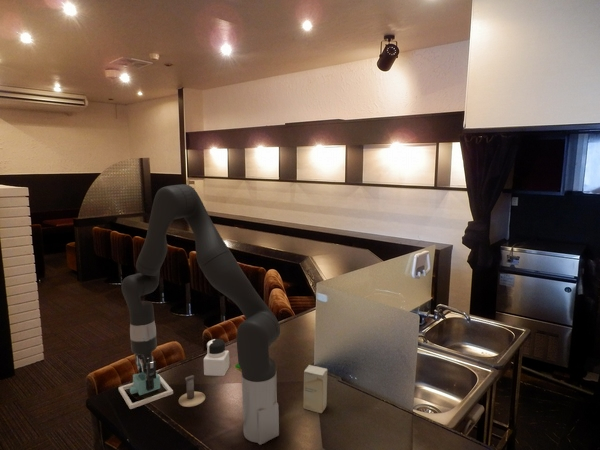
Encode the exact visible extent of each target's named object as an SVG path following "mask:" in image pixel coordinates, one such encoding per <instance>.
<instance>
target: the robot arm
mask: <svg viewBox="0 0 600 450" xmlns="http://www.w3.org/2000/svg"><path fill="white" fill-rule="evenodd" d="M182 218H183V219H184V220H185V221H186V223H187V224H188V226H189V227H190V229H191V231H192V233H193V237H194V242H195V256H196V257H195V258H196V262H197V264H198V266H199V268H200V270H201V272H202V273H203V275H204V277H205V278H206V279H207V281H208V282H209V283H210V285H211V286H212V287H213V288H214V289H215V290H216V291H218V292H219V293H221V294H222V295H224V296H225V297H227V298H228V299H229V300H231V301H232V302H233V303H234V304H235V305H236V306H237V308H239V310H240V311H241V313H242V314H243V317H244V318H245V320H244V321H242V322H241V323H240V324H239V325H238V327H237V330H236V351H237V364H239V366H240V368H241V370H242V372H241V387H242V388H241V392H242V393H241V395H242V397H241V398H242V423H243V425H242V428H243V436H244V438H245V439H246V440H247V441H249V442H252V443H257V444H258V445H259V446H262V444H266V443H267V442H268V441H270V440H272V439H275V438H276V437H279V436H280V426H279V424H280V420H279V419H280V418H279V416H280V415H279V414H280V413H279V409H280V408H279V402H278V400H277V394H278V393H277V375H276V373H277V364H276V362H275V360H274V359H273V358H272V357H270V354H269V353H270V351H269V349H270V347H271V345H273V344H274V343H275V342H276V341H277V339H278V338H279V336H280V333H281V326H280V323H279V321H278V319H277V317H276V316H275V314H274V313H273V311H272V310H271V309H270V307H269V306H268V305H267V303H265V301H264V300H263V298H261V296H260V295H259V293H258V292H257V291H256V289H255V287H254V286H253V285H252V283H251V281H250V280H249V279H248V277H247V275H246V274H245V273H244V271H243V269H242V268H241V266H240V265H239V262H238V261H237V260H236V258H235V256H234V255H233V253H232V251H231V250H230V248H229V247H228V246H227V244H226V242H225V241H224V239H223V238H222V236H221V234H220V233H219V231H218V229H217V228H216V226H215V224H214V223H213V221H212V219H211V217H210V214H209V213H208V211H207V209H206V207H205V205H204V203H203V201H202V198H201V197H200V195H199V193H198V192H197V190H196V188H195V189H194V187H193V186H191V185H190V184H174V185H172V184H171V185H167V186H163V187H161V188H159V189H158V190H157V192H156V194H155V195H154V199H153V203H152V206H151V211H150V217H149V220H148V226H147V231H146V235H145V236H146V237H145V240H144V243H143V245H142V248H141V250H140V252H139V255H138V257H137V260H136V263H135V268H136V270H137V272H138V273H134V274H130V275H128V276H126V277H124V278H123V280H122V282H121V293H122V295H123V297H124V301H125V302H126V306H127V308H128V312H129V322H130V324H129V336H130V337H129V338H130V350H131V353H132V354H134V358H135V359H134V360H135V365H136V367H137V371H138V373H141V372H143V373H144V374H145V379H146V390H147V391H149V390H152V389H154V379H155V378H156V373H157V361H156V360H154V355H153V354H152V352H154V351H155V350H156V349H157V347H158V344H157V343H158V341H157V327H156V323H155V322H156V321H155V310H154V305H153V302H151V301H147V300H141V297H143V296H145V295H149V294H152V293H153V292H154V291H156V289H157V288H158V286H159V284H160V283H159V282H160V274H161V273H160V272H161V267H162V265H163V263H164V261H165V260H166V259H165V258H166V257H167V253H168V241H167V232H168V230H169V228H170V226H171V225H172V223H173V221H175V220H178V219H182ZM150 374H151V375H150Z"/></svg>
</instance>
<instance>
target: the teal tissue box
mask: <svg viewBox="0 0 600 450" xmlns="http://www.w3.org/2000/svg"><path fill="white" fill-rule="evenodd" d="M150 375H151V374H150ZM159 375H160V374H159ZM159 375H158V373H157V372H156V378H155V379H154V389H152V390H149V391H147V390H146V379H145V374H144V373H143V372H141V373H139V372H138V373H134V374H132V383H133V385H134V387H132V388H129V393H130V394H131V395H133V394H138V395H139V396H142V395H145V394H148V393H151V392H154V391H156V390H159V389H161V383H160V376H161V375H160V376H159Z"/></svg>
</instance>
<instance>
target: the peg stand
mask: <svg viewBox="0 0 600 450" xmlns="http://www.w3.org/2000/svg"><path fill="white" fill-rule="evenodd" d="M194 379H195V375H194V374H192V375H189V376H186V377H185V378H184V380H185V383H186V393H184V394H182V395H181V396H180V397H179V399H178V404H179V405H180V406H182V407H187V408H191V407H195V406H198V405H200V404H202V403H203V402H204V401H205V399H206V395H205V394H204V393H203V392H201V391H195V383H194Z"/></svg>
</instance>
